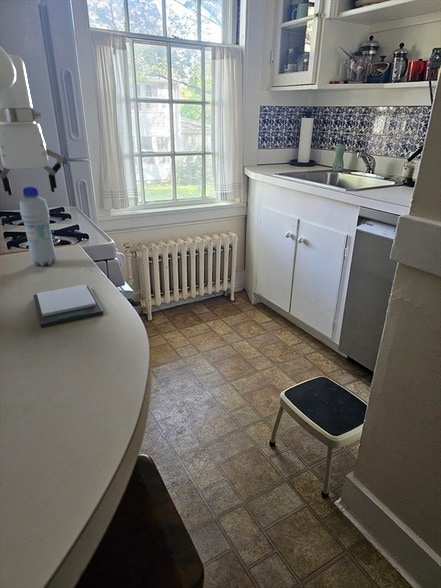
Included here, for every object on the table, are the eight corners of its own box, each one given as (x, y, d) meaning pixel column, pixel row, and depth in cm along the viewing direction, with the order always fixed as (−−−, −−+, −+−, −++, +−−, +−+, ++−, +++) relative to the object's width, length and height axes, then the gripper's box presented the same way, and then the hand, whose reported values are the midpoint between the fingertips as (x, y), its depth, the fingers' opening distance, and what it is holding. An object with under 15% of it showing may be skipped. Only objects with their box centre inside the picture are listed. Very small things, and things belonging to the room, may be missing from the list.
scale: (35, 305, 81) (32, 292, 80) (89, 295, 86) (87, 282, 85) (42, 335, 70) (39, 321, 69) (104, 322, 75) (102, 308, 73)
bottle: (25, 264, 104) (9, 187, 95) (48, 257, 109) (34, 183, 100) (40, 269, 100) (24, 189, 92) (63, 262, 105) (50, 186, 97)
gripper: (56, 116, 96) (68, 187, 103) (-25, 117, 90) (-6, 193, 97) (57, 117, 90) (70, 192, 97) (-29, 118, 84) (-9, 198, 91)
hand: (32, 192), depth 97 cm, fingers open, 9 cm apart
